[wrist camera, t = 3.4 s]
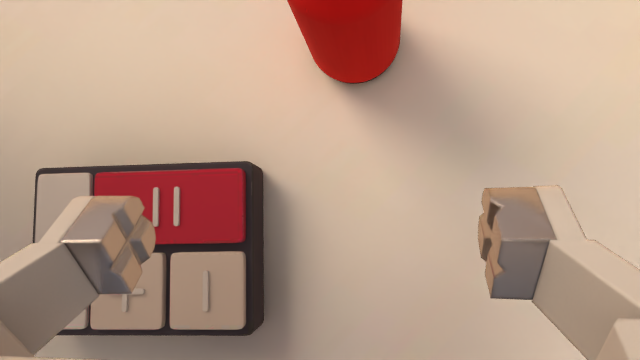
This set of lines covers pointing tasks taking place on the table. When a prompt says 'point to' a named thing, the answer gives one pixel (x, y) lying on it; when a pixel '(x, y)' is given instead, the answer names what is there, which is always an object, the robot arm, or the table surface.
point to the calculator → (175, 246)
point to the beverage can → (350, 35)
